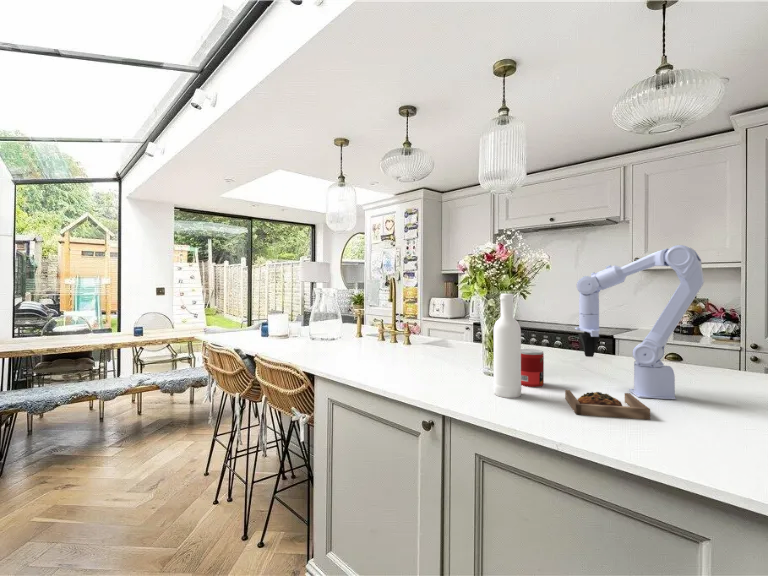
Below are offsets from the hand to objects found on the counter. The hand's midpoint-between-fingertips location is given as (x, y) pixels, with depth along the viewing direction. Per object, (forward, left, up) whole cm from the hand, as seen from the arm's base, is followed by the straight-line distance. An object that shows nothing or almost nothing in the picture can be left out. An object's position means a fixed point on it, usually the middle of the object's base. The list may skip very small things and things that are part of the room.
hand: (589, 356), depth 127 cm
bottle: (+26, +16, -10) cm, 32 cm away
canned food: (+18, +2, -10) cm, 21 cm away
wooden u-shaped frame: (+2, +24, -9) cm, 26 cm away
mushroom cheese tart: (+3, +23, -10) cm, 25 cm away
